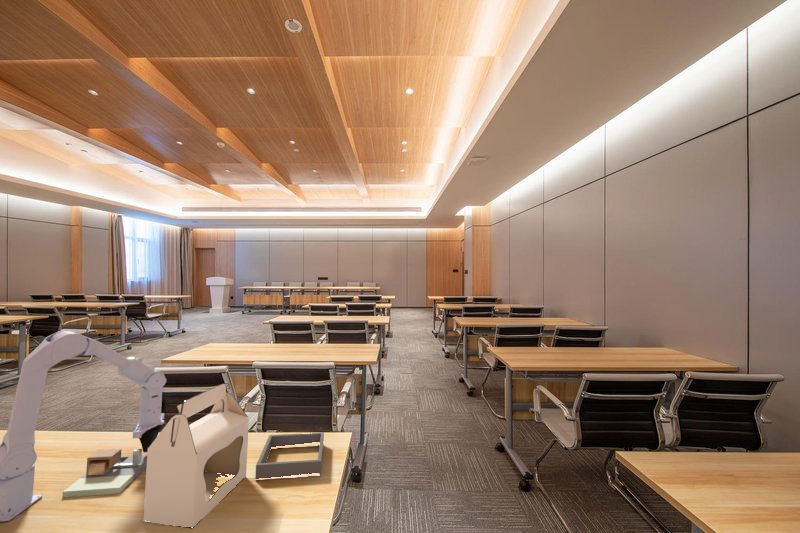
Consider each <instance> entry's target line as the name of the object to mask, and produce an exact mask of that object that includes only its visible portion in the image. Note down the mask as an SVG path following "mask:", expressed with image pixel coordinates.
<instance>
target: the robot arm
mask: <svg viewBox="0 0 800 533" xmlns="http://www.w3.org/2000/svg"><path fill="white" fill-rule="evenodd" d="M80 355H83V356H96V357H97V358H99V359H102V360H103V361H105V362H107V363H109V364H111V365H113V366H116V368H117V374H119V375H121V376H123V377H124V378H126V379H128V380H130V381H132V382H134V383H136V384H138V385H139V386H141V387H140V395H139V409H138V410H139V411H138V412H139V414H138V423H137V425H136V427H135V429H134V430H133V432H132V439H138V440H139V441H140V444H141V449H142V453H147V452H148V448H149V447H150V445H151V444H152V443H153V441H154V440H155V439H156V438H157V436H158V435H159V434H160V432H161V431H162V429H163V424H165V420H164V419H165V413H164V412H162V402H163V387H164V386H165V385H166V383H167V378H166V376H165V373H164V372H162V371H159V370H157V369H156V367H155V366H154V365H149V364H147V363H146V362H144V361H143V358H141V357H140V356H137V357H135V356H129V357H125V356H123V355H122V354H120V353H119V352H117V351H115V350H114V349H112V348H110V347H109V346H107V345H106V344H104V343H103V342H101V341H98V340H96V339H93V338H91V337H88V336H86V335H83V334H82V333H77V332H75V331H73V330H69V329H64V330H59V331H56V332H54V333H52V334H50V335H48V336H46V337H45V338H44V339H43V340H42V342H41V343H40V344H39V345H37V347H35V348H34V350H32V351H31V352H30V353H29V354H28V355H27V356H26V357H25V358H24V360H23V361H22V365H21V369H20V374H19V377H18V378H19V379H18V382H17V386H16V390H15V396H14V398H13V399H14V400H13V404H12V408H11V414H10V417H9V422H8V425H7V430H6V433H5V434H4V435H3V437H2V441H1V443H0V523H1V522H8V521H11V520H13V519H14V518H15V517H17V516H18V515H19V514H20V513H22V512H24V511H25V510H26V509H27V508H29V507H30V506H31V505H33V504H35V503H36V502H37V501H39V499H41V498H43V494H34V482H35V472H36V471H35V469H36V462H37V459H38V455H37V453H36V450H35V443H36V437H35V436H36V434H35V433H36V426H37V422H38V417H39V412H40V408H41V403H42V398H43V394H44V392H45V391H44V390H45V385H46V380H47V376H48V371H49V369H50V368H52V367H54V366H55V365H57V364H59V363H60V362H62V361H65V360H68V359H71V358H74V357H78V356H80Z"/></svg>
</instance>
